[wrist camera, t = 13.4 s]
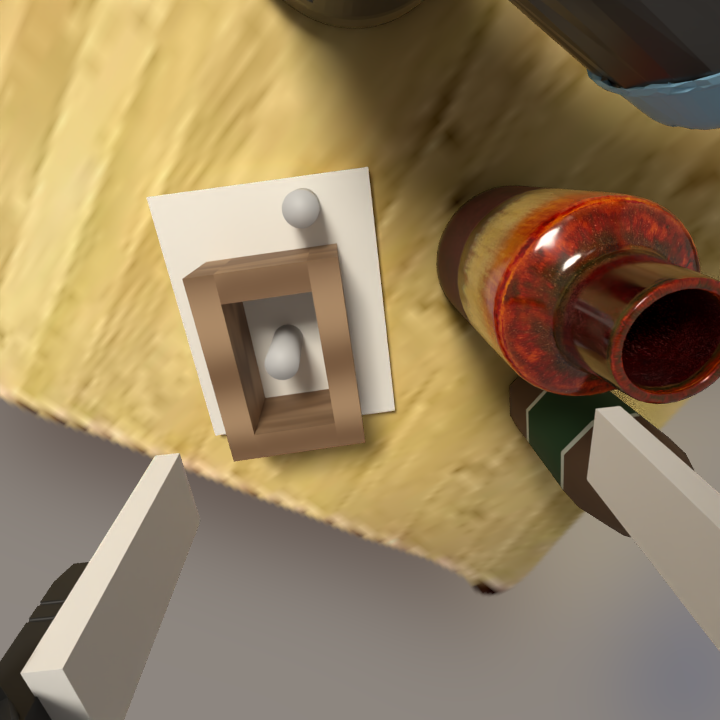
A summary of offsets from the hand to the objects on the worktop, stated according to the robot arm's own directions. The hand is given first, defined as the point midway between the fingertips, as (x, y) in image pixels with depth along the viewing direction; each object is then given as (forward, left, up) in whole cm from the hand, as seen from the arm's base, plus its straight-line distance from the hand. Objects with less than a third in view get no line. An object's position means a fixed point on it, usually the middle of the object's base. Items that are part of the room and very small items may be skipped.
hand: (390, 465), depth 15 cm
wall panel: (+1, -6, -24) cm, 25 cm away
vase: (-1, +12, -25) cm, 27 cm away
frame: (+3, -6, -23) cm, 24 cm away
